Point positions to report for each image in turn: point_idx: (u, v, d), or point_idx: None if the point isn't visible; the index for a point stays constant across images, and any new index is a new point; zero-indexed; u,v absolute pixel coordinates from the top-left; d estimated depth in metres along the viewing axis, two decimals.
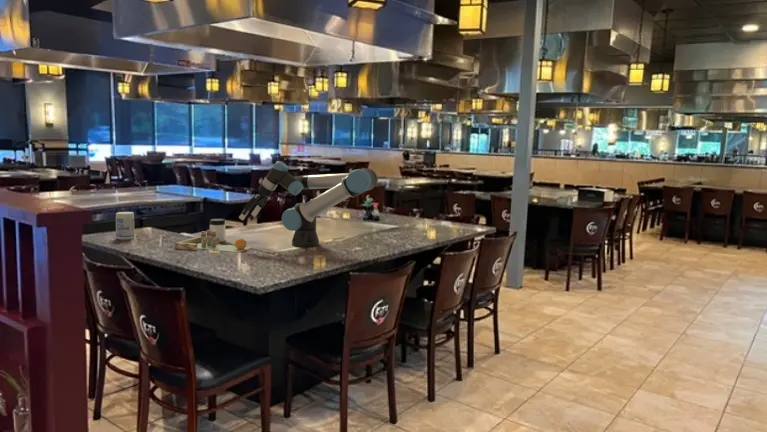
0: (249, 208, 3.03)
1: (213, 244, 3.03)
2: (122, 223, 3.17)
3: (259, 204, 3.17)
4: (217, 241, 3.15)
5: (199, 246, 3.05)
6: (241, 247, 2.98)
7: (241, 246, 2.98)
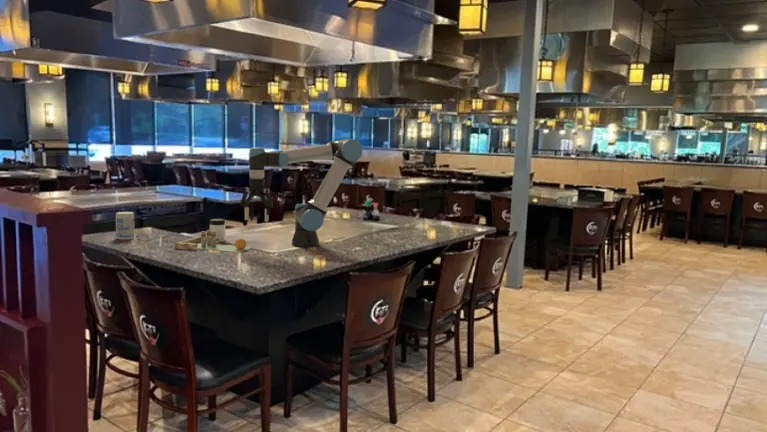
0: None
1: (213, 244, 3.03)
2: (122, 223, 3.17)
3: None
4: (217, 241, 3.15)
5: (199, 246, 3.05)
6: (241, 247, 2.98)
7: (241, 246, 2.98)
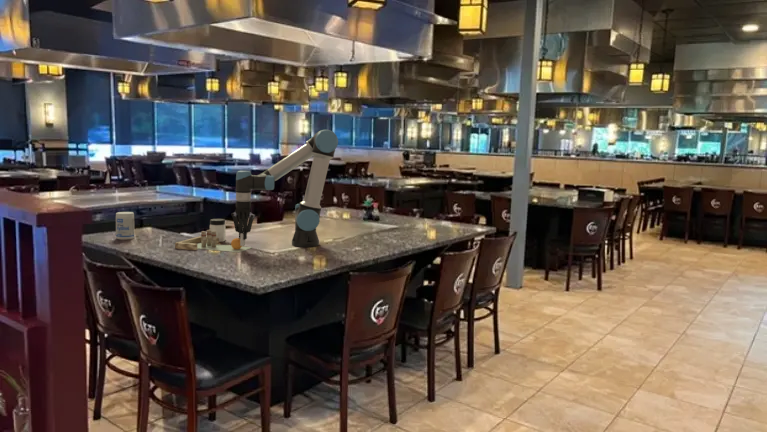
0: None
1: (213, 244, 3.03)
2: (122, 223, 3.17)
3: None
4: (217, 241, 3.15)
5: (199, 246, 3.05)
6: (238, 245, 2.98)
7: (237, 244, 2.98)
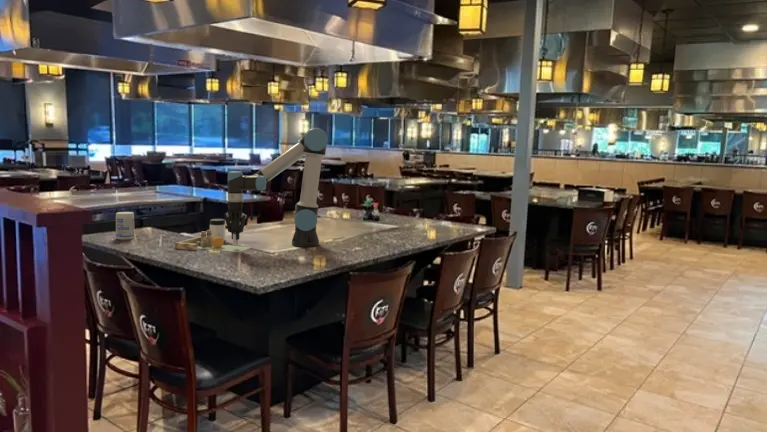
0: None
1: (207, 243, 3.05)
2: (122, 223, 3.17)
3: None
4: None
5: (199, 246, 3.05)
6: (212, 244, 3.01)
7: None
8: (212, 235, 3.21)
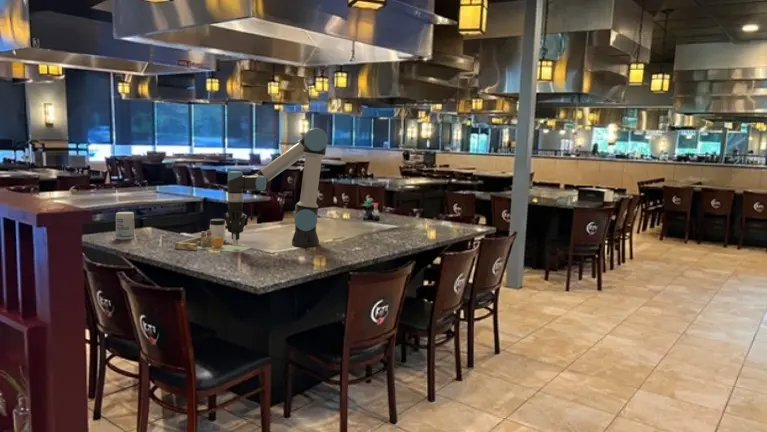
0: None
1: (207, 243, 3.05)
2: (122, 223, 3.17)
3: None
4: None
5: (199, 246, 3.05)
6: (212, 244, 3.01)
7: None
8: (212, 235, 3.21)
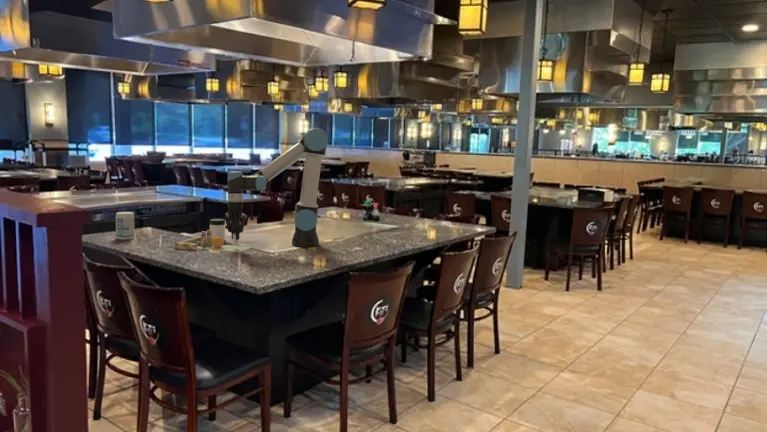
0: None
1: (207, 243, 3.05)
2: (122, 223, 3.17)
3: None
4: None
5: (199, 246, 3.05)
6: (212, 244, 3.01)
7: None
8: (212, 235, 3.21)
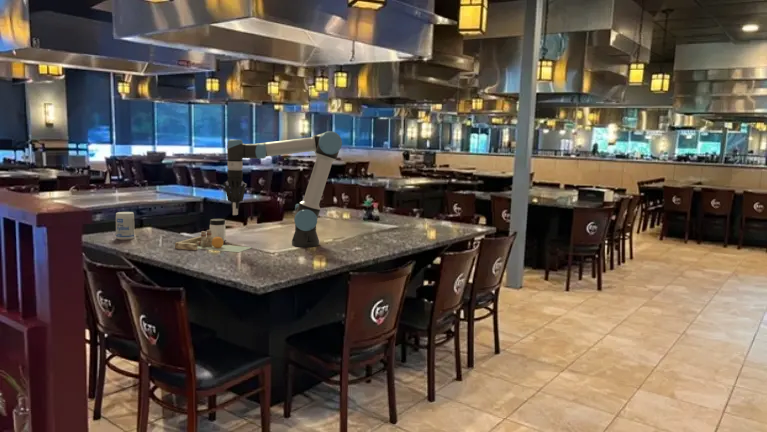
0: None
1: (207, 243, 3.05)
2: (122, 223, 3.17)
3: (232, 200, 2.97)
4: None
5: (199, 246, 3.05)
6: (212, 244, 3.01)
7: None
8: (212, 235, 3.21)
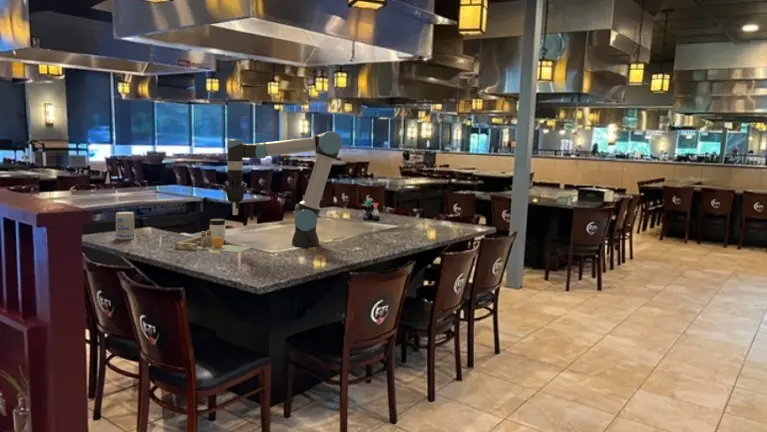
0: None
1: (207, 243, 3.05)
2: (122, 223, 3.17)
3: (232, 200, 2.97)
4: None
5: (199, 246, 3.05)
6: (212, 244, 3.01)
7: None
8: (212, 235, 3.21)
